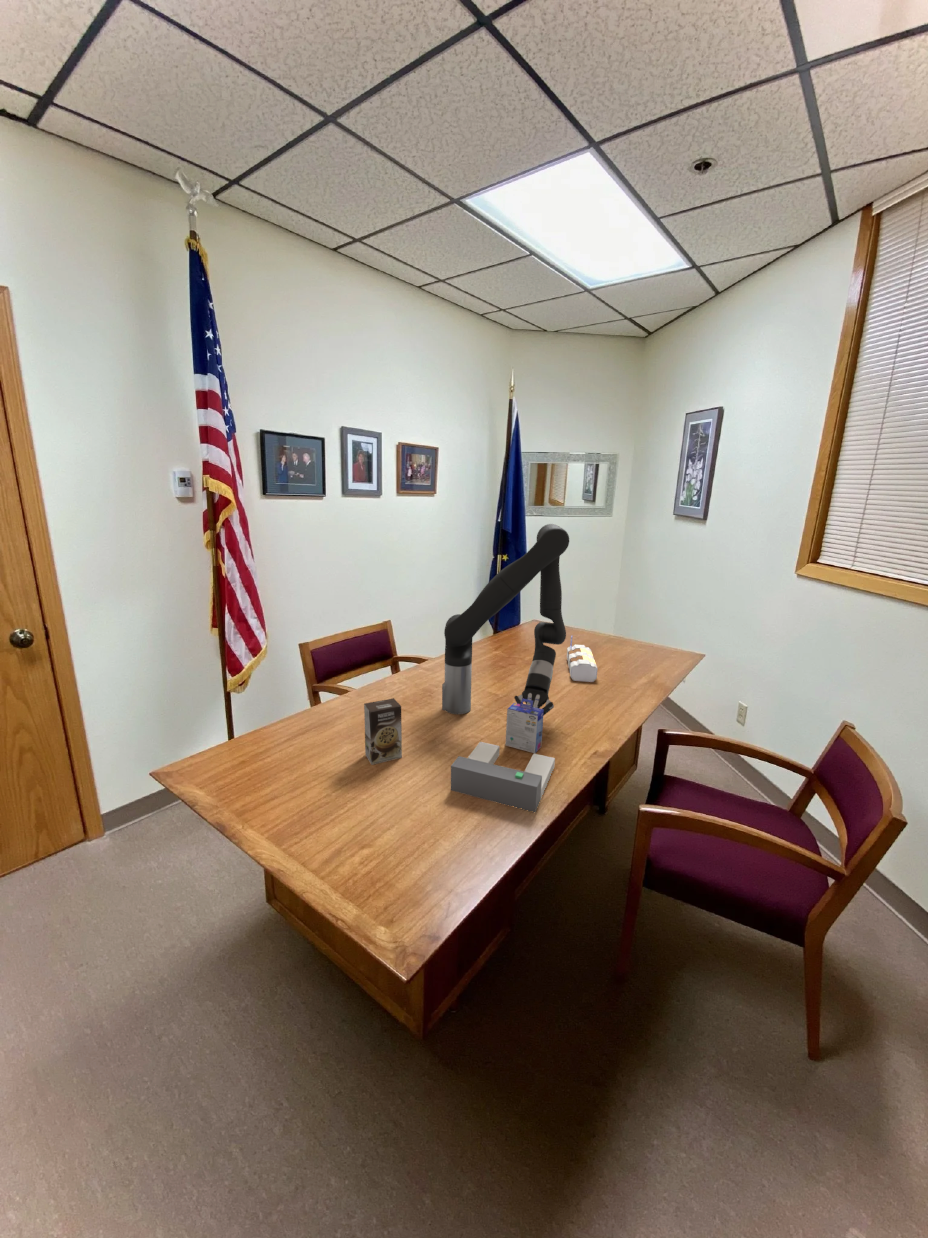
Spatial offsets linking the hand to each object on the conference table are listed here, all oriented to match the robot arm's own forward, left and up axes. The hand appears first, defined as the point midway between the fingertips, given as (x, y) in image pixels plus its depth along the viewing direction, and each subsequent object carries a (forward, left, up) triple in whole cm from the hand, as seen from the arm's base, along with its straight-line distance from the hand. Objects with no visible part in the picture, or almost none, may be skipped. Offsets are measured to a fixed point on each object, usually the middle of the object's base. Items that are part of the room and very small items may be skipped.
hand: (527, 728), depth 147 cm
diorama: (+5, +68, -4) cm, 68 cm away
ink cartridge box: (0, -4, -4) cm, 6 cm away
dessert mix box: (-35, -26, -4) cm, 44 cm away
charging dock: (0, -22, -4) cm, 23 cm away
